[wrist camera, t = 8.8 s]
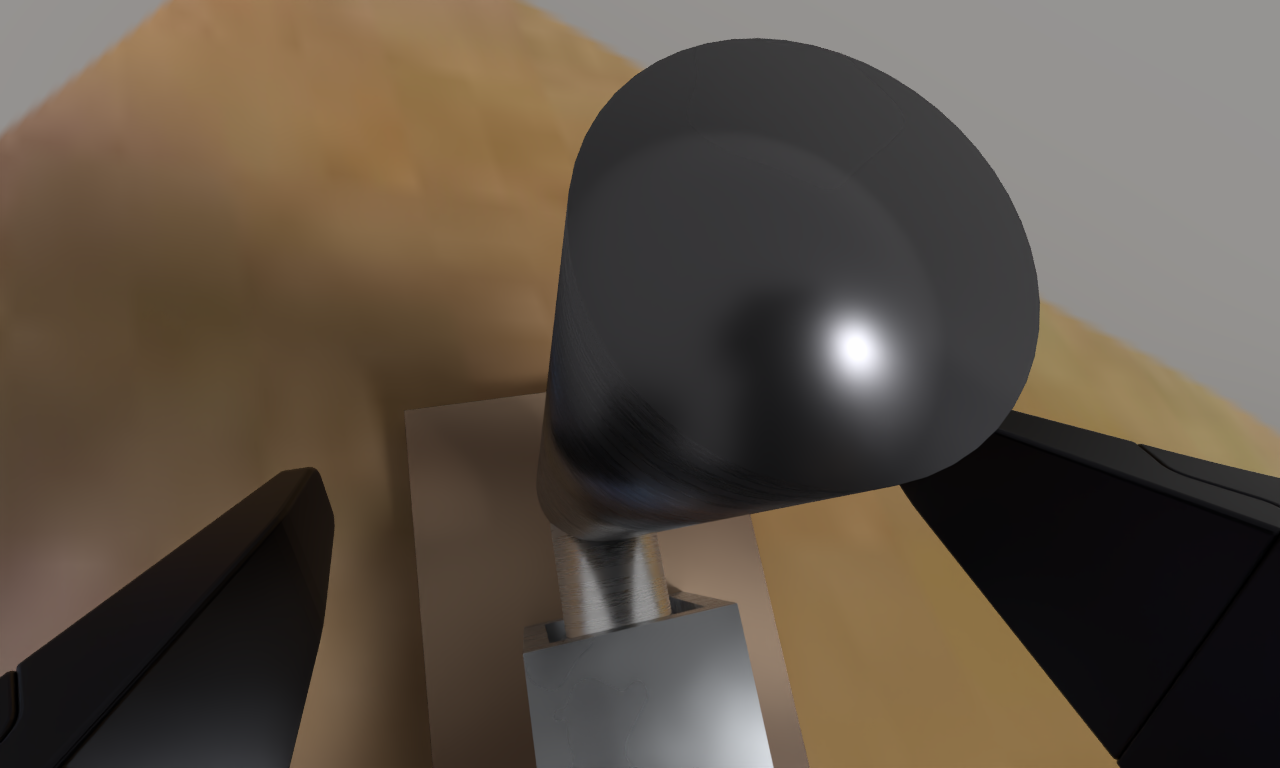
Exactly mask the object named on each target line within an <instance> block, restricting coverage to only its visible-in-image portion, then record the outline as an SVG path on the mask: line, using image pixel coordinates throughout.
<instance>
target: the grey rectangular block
mask: <svg viewBox="0 0 1280 768" xmlns="http://www.w3.org/2000/svg"><path fill="white" fill-rule="evenodd" d="M668 595H669V601H670V606H671V611H672V615H668V616H664V617H659V618H655V619H651V620H647V621H642V622H638V623H634V624H629V625H625V626H621V627H617V628H612V629H608V630H604V631H600V632H595V633H591V634H587V635H582V636H578V637H574V638H570V639H566V632H565V625H564V618H561V619H556V620H552V621H547V622H543V623H539V624H534V625H530V626H525V627H524V639H523V660H524V668H525V676H526V684H527V692H528V700H529V708H530V716H531V724H532V733H533V741H534V749H535V757H536V765H537V768H774V767H773V763H772V758H771V754H770V749H769V745H768V740H767V736H766V731H765V727H764V722H763V718H762V713H761V708H760V704H759V699H758V695H757V690H756V686H755V681H754V677H753V672H752V668H751V663H750V658H749V654H748V649H747V645H746V640H745V636H744V631H743V627H742V622H741V618H740V613H739V608H738V604H737V603H734V602H730V601H725V600H721V599H716V598H711V597H707V596H702V595H697V594H693V593H688V592H684V591H681V592H677V593H672V594H668Z"/></svg>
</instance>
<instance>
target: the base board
mask: <svg viewBox="0 0 1280 768" xmlns="http://www.w3.org/2000/svg"><path fill="white" fill-rule="evenodd" d="M545 399H546V392H544V393H536V394H528V395H521V396H513V397H505V398H497V399H490V400H482V401H474V402H466V403H458V404H451V405H443V406H435V407H427V408H420V409H412V410H404V415H405V428H406V440H407V452H408V465H409V477H410V490H411V502H412V514H413V527H414V539H415V552H416V564H417V576H418V589H419V601H420V613H421V626H422V638H423V651H424V663H425V675H426V688H427V700H428V713H429V725H430V737H431V750H432V762H433V768H537V765H536V757H535V749H534V741H533V733H532V724H531V716H530V708H529V700H528V692H527V684H526V676H525V668H524V660H523V639H524V627H525V626H530V625H534V624H539V623H543V622H547V621H552V620H556V619H561V618H563V611H562V604H561V597H560V590H559V583H558V576H557V569H556V562H555V555H554V548H553V541H552V534H551V527H550V522H549V521H548V519H547V518H546V516H545V515H544V513H543V511H542V509H541V506H540V504H539V501H538V496H537V489H536V480H537V470H538V461H539V452H540V443H541V434H542V425H543V416H544V407H545ZM656 533H657V538H658V543H659V548H660V554H661V559H662V564H663V569H664V575H665V580H666V585H667V590H668V594H672V593H677V592H681V591H684V592H688V593H693V594H697V595H702V596H707V597H711V598H716V599H721V600H725V601H730V602H734V603H737V604H738V608H739V613H740V618H741V622H742V627H743V631H744V636H745V640H746V645H747V649H748V654H749V658H750V663H751V668H752V672H753V677H754V681H755V686H756V690H757V695H758V699H759V704H760V708H761V713H762V718H763V722H764V727H765V731H766V736H767V740H768V745H769V749H770V754H771V758H772V763H773V767H774V768H809V763H808V759H807V755H806V751H805V746H804V742H803V738H802V733H801V729H800V725H799V721H798V716H797V712H796V708H795V704H794V699H793V695H792V691H791V687H790V682H789V678H788V674H787V670H786V665H785V661H784V657H783V653H782V648H781V644H780V640H779V636H778V631H777V627H776V623H775V619H774V614H773V610H772V606H771V601H770V597H769V593H768V589H767V584H766V580H765V576H764V572H763V567H762V563H761V559H760V555H759V550H758V546H757V542H756V538H755V533H754V529H753V525H752V521H751V516H750V514H748V515H743V516H738V517H733V518H728V519H723V520H718V521H713V522H707V523H702V524H697V525H692V526H687V527H682V528H677V529H672V530H667V531H661V532H656Z"/></svg>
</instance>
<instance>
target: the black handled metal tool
mask: <svg viewBox="0 0 1280 768" xmlns="http://www.w3.org/2000/svg"><path fill="white" fill-rule="evenodd" d="M1039 312H1040V300H1039V291H1038V281H1037V274H1036V269H1035V265H1034V261H1033V256H1032V252H1031V248H1030V245H1029V242H1028V239H1027V237H1026V233H1025V231H1024V228H1023V225H1022V222H1021V220H1020V218H1019V216H1018V214H1017V211H1016V209H1015V207H1014V205H1013V203H1012V201H1011V199H1010V197H1009V195H1008V193H1007V192H1006V190H1005V188H1004V187H1003V185H1002V183H1001V182H1000V180H999V178H998V177H997V175H996V174H995V172H994V171H993V169H992V168H991V167H990V165H989V164H988V163H987V161H986V160H985V158H984V157H983V156H982V154H981V153H980V152H979V150H978V149H977V148H976V147H975V146H974V145H973V144H972V142H971V141H970V140H969V139H968V138H967V137H966V136H965V135H964V134H963V133H962V131H961V130H960V129H959V128H958V127H957V126H956V125H954V124H953V123H952V122H951V121H950V120H949V119H948V118H947V117H946V116H945V115H944V114H943V113H942V112H940V111H939V110H938V109H937V108H936V107H935V106H933V105H932V104H931V103H929V102H928V101H927V100H925V99H924V98H923V97H921V96H920V95H919V94H918V93H916V92H915V91H913V90H912V89H910V88H909V87H907V86H905V85H904V84H902V83H901V82H899V81H898V80H896V79H894V78H893V77H891V76H889V75H888V74H886V73H884V72H882V71H880V70H878V69H876V68H874V67H872V66H870V65H868V64H866V63H864V62H861V61H858V60H856V59H853V58H851V57H848V56H846V55H843V54H840V53H838V52H834V51H831V50H828V49H824V48H821V47H817V46H814V45H809V44H803V43H798V42H792V41H787V40H773V39H760V38H755V39H731V40H725V41H719V42H712V43H707V44H703V45H699V46H696V47H692V48H689V49H686V50H682V51H680V52H677V53H675V54H673V55H671V56H668V57H666V58H664V59H662V60H659V61H657V62H656V63H654V64H653V65H651V66H649V67H648V68H646V69H645V70H643V71H642V72H640V73H638V74H637V75H635V76H634V77H633V78H632V79H631V80H630V81H628V82H627V83H626V84H625V85H624V86H623V87H622V88H620V89H619V90H618V91H617V92H616V93H615V94H614V95H613V97H612V98H611V99H610V100H609V101H608V103H607V104H606V105H605V106H604V107H603V109H602V110H601V111H600V112H599V114H598V115H597V117H596V119H595V120H594V122H593V124H592V125H591V127H590V129H589V131H588V132H587V134H586V136H585V138H584V140H583V143H582V146H581V148H580V151H579V153H578V156H577V159H576V161H575V165H574V169H573V174H572V179H571V184H570V188H569V194H568V203H567V212H566V221H565V230H564V239H563V248H562V257H561V265H560V274H559V283H558V292H557V301H556V310H555V319H554V328H553V336H552V345H551V354H550V363H549V372H548V381H547V390H546V399H545V407H544V416H543V425H542V434H541V443H540V452H539V461H538V470H537V480H536V489H537V496H538V501H539V504H540V506H541V509H542V511H543V513H544V515H545V516H546V518H547V519H548V521H549V522H550V527H551V534H552V541H553V548H554V555H555V562H556V569H557V576H558V583H559V590H560V597H561V604H562V611H563V618H564V625H565V632H566V639H570V638H574V637H578V636H582V635H587V634H591V633H595V632H600V631H604V630H608V629H612V628H617V627H621V626H625V625H629V624H634V623H638V622H642V621H647V620H651V619H655V618H659V617H664V616H668V615H672V611H671V606H670V601H669V595H668V590H667V585H666V580H665V575H664V569H663V564H662V559H661V554H660V548H659V543H658V538H657V533H656V532H661V531H667V530H672V529H677V528H682V527H687V526H692V525H697V524H702V523H707V522H713V521H718V520H723V519H728V518H733V517H738V516H743V515H748V514H753V513H759V512H764V511H769V510H774V509H779V508H784V507H789V506H794V505H799V504H804V503H810V502H815V501H820V500H825V499H830V498H835V497H840V496H845V495H850V494H856V493H861V492H866V491H871V490H876V489H881V488H886V487H891V486H896V485H900V484H903V483H907V482H911V481H914V480H918V479H921V478H925V477H928V476H930V475H932V474H934V473H936V472H938V471H941V470H943V469H945V468H947V467H949V466H951V465H953V464H955V463H956V462H958V461H959V460H961V459H962V458H964V457H965V456H967V455H968V454H970V453H971V452H972V451H974V450H975V449H977V448H978V447H979V446H980V445H981V444H982V443H983V442H984V441H985V440H986V439H987V438H988V437H989V436H991V435H992V434H993V433H994V432H995V431H996V430H997V429H998V427H999V426H1000V425H1001V423H1002V422H1003V421H1004V419H1005V418H1006V417H1007V415H1008V414H1009V412H1010V411H1011V410H1012V408H1013V407H1014V405H1015V403H1016V401H1017V400H1018V398H1019V396H1020V394H1021V392H1022V390H1023V388H1024V386H1025V384H1026V382H1027V379H1028V375H1029V372H1030V369H1031V366H1032V363H1033V360H1034V357H1035V351H1036V345H1037V339H1038V333H1039Z"/></svg>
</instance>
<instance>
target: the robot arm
mask: <svg viewBox="0 0 1280 768" xmlns="http://www.w3.org/2000/svg"><path fill="white" fill-rule="evenodd" d="M900 487H901V488H902V490H903V491H904V493H905V494H906V496H907V497H908V499H909V500H910V502H911V503H912V505H913V506H914V507H915V509H916V510H917V511H918V513H919V514H920V515H921V517H922V518H923V519H924V520H925V522H926V523H927V524H928V525H929V527H930V528H931V529H932V530H933V532H934V533H935V534H936V535H937V537H938V538H939V539H940V540H941V542H942V543H943V544H944V546H945V547H946V548H947V549H948V551H949V552H950V553H951V554H952V556H953V557H954V558H955V559H956V561H957V562H958V563H959V564H960V566H961V567H962V568H963V569H964V571H965V572H966V573H967V575H968V576H969V577H970V578H971V580H972V581H973V582H974V583H975V585H976V586H977V587H978V588H979V590H980V591H981V592H982V593H983V595H984V596H985V597H986V598H987V600H988V601H989V602H990V603H991V605H992V606H993V607H994V609H995V610H996V611H997V612H998V614H999V615H1000V616H1001V617H1002V619H1003V620H1004V621H1005V622H1006V624H1007V625H1008V626H1009V627H1010V629H1011V630H1012V631H1013V632H1014V634H1015V635H1016V636H1017V638H1018V639H1019V640H1020V641H1021V643H1022V644H1023V645H1024V646H1025V648H1026V649H1027V650H1028V651H1029V653H1030V654H1031V655H1032V656H1033V658H1034V659H1035V660H1036V661H1037V663H1038V664H1039V665H1040V667H1041V668H1042V669H1043V670H1044V672H1045V673H1046V674H1047V675H1048V677H1049V678H1050V679H1051V680H1052V682H1053V683H1054V684H1055V685H1056V687H1057V688H1058V689H1059V690H1060V692H1061V693H1062V694H1063V696H1064V697H1065V698H1066V699H1067V701H1068V702H1069V703H1070V704H1071V706H1072V707H1073V708H1074V709H1075V711H1076V712H1077V713H1078V714H1079V716H1080V717H1081V718H1082V719H1083V721H1084V722H1085V723H1086V725H1087V726H1088V727H1089V728H1090V730H1091V731H1092V732H1093V733H1094V735H1095V736H1096V737H1097V738H1098V740H1099V741H1100V742H1101V743H1102V745H1103V746H1104V747H1105V748H1106V750H1107V751H1108V752H1109V754H1110V755H1111V756H1112V757H1113V758H1114V759H1116V760H1117V764H1118V766H1119V767H1120V768H1280V478H1277V477H1273V476H1268V475H1264V474H1260V473H1256V472H1251V471H1247V470H1243V469H1239V468H1235V467H1230V466H1226V465H1222V464H1218V463H1214V462H1210V461H1206V460H1202V459H1198V458H1194V457H1190V456H1186V455H1182V454H1178V453H1174V452H1170V451H1166V450H1163V449H1159V448H1155V447H1151V446H1147V445H1144V444H1138V445H1137V444H1136V443H1134V442H1132V441H1128V440H1124V439H1120V438H1117V437H1113V436H1109V435H1105V434H1101V433H1097V432H1094V431H1090V430H1086V429H1082V428H1078V427H1075V426H1071V425H1067V424H1063V423H1059V422H1056V421H1052V420H1048V419H1044V418H1040V417H1037V416H1033V415H1029V414H1025V413H1021V412H1018V411H1014V410H1011V411H1010V412H1009V414H1008V415H1007V417H1006V418H1005V419H1004V421H1003V422H1002V423H1001V425H1000V426H999V427H998V429H997V430H996V431H995V432H994V433H993V434H992V435H991V436H989V437H988V438H987V439H986V440H985V441H984V442H983V443H982V444H981V445H980V446H979V447H978V448H977V449H975V450H974V451H972V452H971V453H970V454H968V455H967V456H965V457H964V458H962V459H961V460H959V461H958V462H956V463H955V464H953V465H951V466H949V467H947V468H945V469H943V470H941V471H938V472H936V473H934V474H932V475H930V476H928V477H925V478H921V479H918V480H914V481H911V482H907V483H903V484H900ZM334 527H335V525H334V515H333V511H332V508H331V505H330V502H329V499H328V496H327V493H326V490H325V487H324V484H323V481H322V478H321V476H320V474H319V472H318V471H317V469H315V468H313V467H306V468H299V469H292V470H285V471H282V472H280V473H279V474H277V475H276V476H275V477H273V478H272V479H271V480H269V481H268V482H266V483H265V484H264V485H262V486H261V487H260V488H258V489H257V490H256V491H254V492H253V493H251V494H250V495H249V496H247V497H246V498H245V499H243V500H242V501H241V502H239V503H238V504H236V505H235V506H234V507H232V508H231V509H230V510H228V511H227V512H226V513H224V514H223V515H221V516H220V517H219V518H217V519H216V520H215V521H213V522H212V523H211V524H209V525H208V526H206V527H205V528H204V529H202V530H201V531H200V532H198V533H197V534H196V535H194V536H193V537H191V538H190V539H189V540H187V541H186V542H185V543H183V544H182V545H180V546H179V547H178V548H176V549H175V550H174V551H172V552H171V553H170V554H168V555H167V556H165V557H164V558H163V559H161V560H160V561H159V562H157V563H156V564H155V565H153V566H152V567H150V568H149V569H148V570H146V571H145V572H144V573H142V574H141V575H140V576H138V577H137V578H135V579H134V580H133V581H131V582H130V583H129V584H127V585H126V586H125V587H123V588H122V589H120V590H119V591H118V592H116V593H115V594H114V595H112V596H111V597H110V598H108V599H107V600H105V601H104V602H103V603H101V604H100V605H99V606H97V607H96V608H95V609H93V610H92V611H90V612H89V613H88V614H86V615H85V616H84V617H82V618H81V619H80V620H78V621H77V622H75V623H74V624H73V625H71V626H70V627H69V628H67V629H66V630H65V631H63V632H62V633H60V634H59V635H58V636H56V637H55V638H54V639H52V640H51V641H50V642H48V643H47V644H45V645H44V646H43V647H41V648H40V649H39V650H37V651H36V652H34V653H33V654H32V655H30V656H29V657H28V658H26V659H25V660H24V661H22V662H21V663H20V664H18V666H17V668H16V671H9V672H7V673H5V674H4V675H3V676H1V677H0V768H289V767H290V763H291V759H292V755H293V751H294V746H295V742H296V738H297V734H298V730H299V726H300V722H301V718H302V714H303V709H304V705H305V701H306V697H307V693H308V689H309V685H310V681H311V676H312V672H313V668H314V664H315V660H316V656H317V652H318V648H319V644H320V639H321V634H322V629H323V624H324V617H325V609H326V600H327V591H328V582H329V573H330V564H331V555H332V546H333V537H334Z"/></svg>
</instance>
